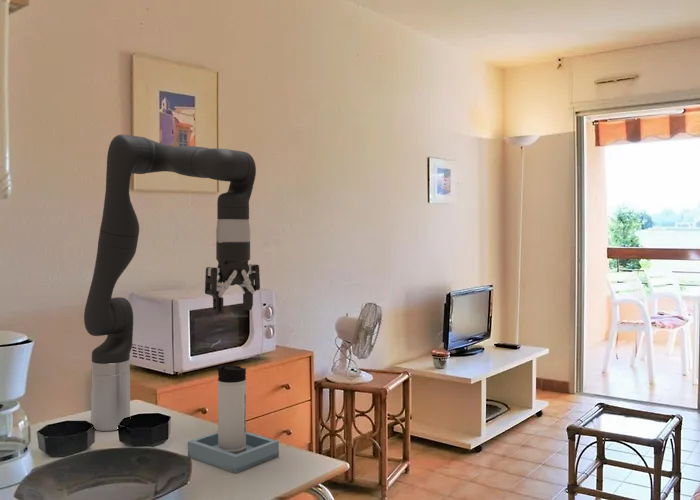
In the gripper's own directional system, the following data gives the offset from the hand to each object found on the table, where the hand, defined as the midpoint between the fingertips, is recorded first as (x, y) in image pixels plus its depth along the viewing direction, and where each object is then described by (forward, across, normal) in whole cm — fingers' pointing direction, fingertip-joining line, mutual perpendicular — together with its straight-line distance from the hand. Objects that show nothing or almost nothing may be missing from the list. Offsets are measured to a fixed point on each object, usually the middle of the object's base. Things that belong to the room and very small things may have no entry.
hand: (233, 311), depth 147 cm
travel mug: (+32, 0, 0) cm, 32 cm away
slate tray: (+33, 0, 0) cm, 33 cm away
